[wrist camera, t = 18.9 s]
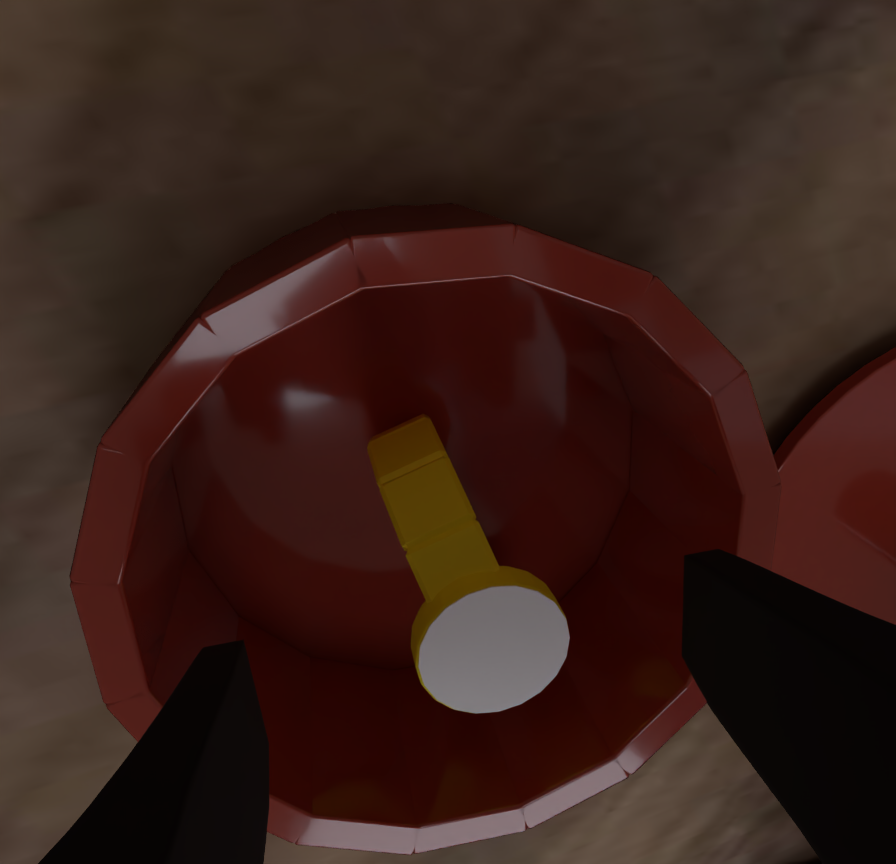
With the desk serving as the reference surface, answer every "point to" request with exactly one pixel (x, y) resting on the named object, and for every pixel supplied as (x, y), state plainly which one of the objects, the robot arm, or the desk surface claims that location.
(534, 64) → the desk surface
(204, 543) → the pot
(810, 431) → the lid
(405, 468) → the watch
